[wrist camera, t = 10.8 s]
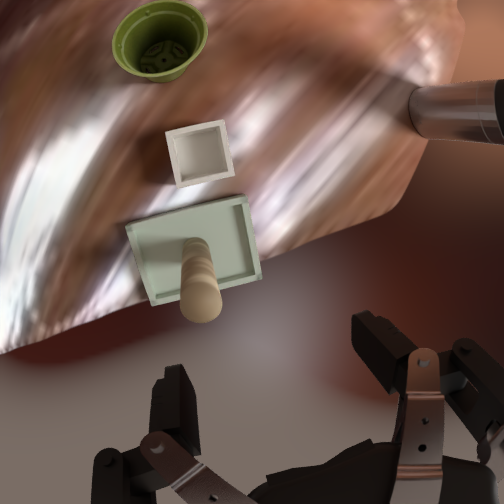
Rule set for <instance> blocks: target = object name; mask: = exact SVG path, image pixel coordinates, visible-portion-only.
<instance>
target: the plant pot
mask: <svg viewBox="0 0 504 504" xmlns="http://www.w3.org/2000/svg"><path fill="white" fill-rule="evenodd" d="M207 35H208V26H207V22H206V20H205V18H204V16H203V15H202V13H201V12H200V11H199V10H198V9H196V8H195V7H194V6H192V5H190V4H188V3H185V2H182V1H178V0H158V1H153V2H150V3H147V4H144V5H142V6H140V7H138V8H136V9H135V10H133V11H132V12H131V13H129V14H128V15H127V16H126V17H125V18H124V19H123V20H122V21H121V23H120V24H119V25H118V27H117V28H116V31H115V33H114V35H113V39H112V53H113V56H114V58H115V60H116V62H117V63H118V64H119V66H120V67H122V68H123V69H124V70H125V71H127V72H129V73H131V74H133V75H136V76H140V77H146V78H147V79H149V80H150V81H153V82H159V83H165V82H170V81H172V80H175V79H176V78H178V77H179V76H181V75H182V74H183V73H184V71H185V70H186V68H187V67H188V64H190V63H191V62H192V61H193V60H194V59H195V58H196V57H197V56H198V55H199V53H200V52H201V51H202V49H203V47H204V45H205V43H206V40H207ZM155 47H159V48H158V49H156V50H154V51H153V52H151V53H150V51H151V50H152V49H153V48H155ZM176 47H179V48H180V49H181V50H182V51H183V54H181V53H180V52H179V50H178V49H176ZM162 59H166V61H165V62H163V61H162ZM146 68H148V70H149V71H150V72H151V73H152V74H149V73H147V72H146Z"/></svg>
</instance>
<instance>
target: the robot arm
mask: <svg viewBox="0 0 504 504" xmlns="http://www.w3.org/2000/svg"><path fill="white" fill-rule="evenodd" d="M409 112H410V116H411V120H412V122H413V125H414V126H415V128H416V130H417V131H418V132H419V133H420V134H421V135H422V136H423V137H425V138H427V139H441V140H456V141H469V142H480V143H489V144H498V145H504V79H501V80H483V81H470V82H460V83H451V84H443V85H436V86H429V87H423V88H418V89H416V90H414V91H413V93H412V94H411V96H410V100H409ZM351 321H352V322H351V324H352V326H351V341H352V345H353V348H354V350H355V351H356V353H357V354H358V355H359V357H360V358H361V359H362V360H363V361H364V363H365V364H366V365H367V367H368V368H369V369H370V371H371V372H372V373H373V375H374V376H375V377H376V378H377V380H378V381H379V382H380V384H381V385H382V386H383V388H384V389H385V390H386V391H387V393H388V394H389V395H391V394H393V393H394V392H396V391H397V392H398V393H399V394H400V396H399V401H398V409H397V416H396V422H395V428H394V433H393V437H392V440H391V442H380V443H374V444H373V443H372V441H371V439H367V440H365V441H363V442H361V443H359V444H356V445H354V446H352V447H349V448H347V449H345V450H344V451H342V452H341V453H339V454H338V455H337V456H335V457H334V458H332V459H331V460H329V461H327V462H326V463H324V464H322V465H317V466H308V467H299V468H291V469H288V470H285V471H281V472H277V473H274V474H270V475H266V478H267V482H265V483H263V484H261V485H260V486H258V487H257V488H255V489H254V490H253V491H251V493H250V494H248V495H247V496H246V495H245V494H243V493H242V492H240V491H239V490H237V489H236V488H234V487H233V486H232V485H230V484H229V483H228V482H226V481H225V480H224V479H222V478H221V477H220V476H218V475H217V474H216V473H214V472H213V471H212V470H211V469H209V468H208V467H207V466H205V465H204V464H201V463H200V462H198V461H197V460H196V459H195V458H194V456H198V455H201V448H200V439H199V427H198V415H197V402H196V394H195V390H194V388H193V385H192V383H191V381H190V379H189V377H188V375H187V373H186V371H185V369H184V367H183V365H182V364H177V365H172V366H167V367H165V375H164V378H163V379H158V380H157V381H156V383H155V385H154V387H153V388H152V399H151V409H150V422H149V434H147V435H146V436H145V437H144V438H143V439H142V441H141V443H140V446H138V447H137V448H134V449H131V450H129V451H126V452H123V453H120V452H119V451H118V450H117V449H114V448H106V449H103V450H101V451H100V452H99V453H98V454H97V455H96V456H95V459H94V465H93V476H92V491H91V504H157V503H156V490H158V489H161V488H164V487H167V486H169V485H170V486H171V487H172V489H173V490H174V491H175V492H176V493H177V494H178V495H179V496H180V497H181V498H182V499H183V500H184V501H186V502H187V503H188V504H499V499H498V487H497V483H499V482H500V480H502V479H503V478H504V368H503V367H502V366H500V364H499V363H498V362H497V361H496V360H494V359H493V358H492V357H491V356H490V355H489V354H488V353H487V352H486V351H485V350H484V349H483V348H482V347H481V346H479V345H478V344H477V343H476V342H475V341H474V340H472V339H469V338H461V339H458V340H456V341H455V342H454V344H453V346H452V350H448V351H445V352H441V353H435V352H434V351H432V350H430V349H426V348H420V349H419V348H418V347H417V346H416V345H415V344H413V342H412V341H411V340H410V339H408V338H407V337H406V336H405V335H404V334H403V333H402V332H400V330H399V329H398V328H397V327H395V325H394V324H392V323H391V322H390V321H389V320H388V319H385V318H383V317H381V316H377V317H375V316H374V315H373V314H372V313H371V312H370V311H368V310H364V311H362V312H359V313H356V314H354V315H352V319H351ZM467 380H469V381H470V382H471V383H472V384H473V385H474V387H475V388H476V389H477V390H478V392H477V391H476V390H475V388H474V387H473V386H472V385H471V384H470V383H469V382H468V381H467ZM445 401H446V402H447V403H448V404H449V406H450V407H451V408H452V409H453V411H454V412H455V413H456V415H457V416H458V417H459V418H460V420H461V421H462V422H463V424H464V425H465V426H466V428H467V429H468V430H469V432H470V433H471V434H472V436H473V437H474V438H475V440H476V441H477V443H478V444H477V454H478V455H477V459H478V460H479V461H480V463H479V462H474V461H468V460H463V459H458V458H453V457H449V456H444V455H442V454H443V441H444V420H445V419H444V418H445Z"/></svg>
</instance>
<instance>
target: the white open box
mask: <svg viewBox="0 0 504 504" xmlns="http://www.w3.org/2000/svg"><path fill="white" fill-rule="evenodd" d="M165 134H166V139H167V144H168V149H169V154H170V159H171V163H172V168H173V173H174V177H175V182H176V186H177V189H179V188H183V187H187V186H191V185H196V184H200V183H204V182H208V181H213V180H217V179H222V178H226V177H231V176H235V173H234V168H233V163H232V158H231V153H230V148H229V142H228V137H227V132H226V127H225V122H224V119H223V120H217V121H212V122H207V123H202V124H197V125H193V126H188V127H184V128H179V129H175V130H171V131H167V132H165Z"/></svg>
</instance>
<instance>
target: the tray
mask: <svg viewBox="0 0 504 504" xmlns="http://www.w3.org/2000/svg"><path fill="white" fill-rule="evenodd" d="M125 228H126V231H127V235H128V238H129V241H130V245H131V248H132V251H133V254H134V257H135V260H136V263H137V266H138V269H139V272H140V275H141V278H142V281H143V283H144V286H145V289H146V292H147V294H148V297H149V300H150V302H151V305H152V306H155V305H159V304H164V303H168V302H172V301H176V300H180V286H181V265H182V248H183V245H184V243H185V242H186V241H187V240H188V239H190V238H193V237H199V238H202V239H204V240H205V241H206V242H207V244H208V246H209V250H210V254H211V258H212V262H213V267H214V271H215V275H216V279H217V283H218V287H219V290H220V289H224V288H228V287H233V286H236V285H240V284H244V283H248V282H251V281H256V280H259V279H262V273H261V268H260V262H259V256H258V251H257V246H256V240H255V235H254V230H253V224H252V219H251V214H250V208H249V203H248V198H247V195H245V194H240V195H236V196H231V197H227V198H222V199H218V200H214V201H209V202H205V203H201V204H197V205H193V206H189V207H185V208H181V209H177V210H173V211H169V212H165V213H161V214H158V215H154V216H150V217H147V218H143V219H139V220H136V221H132V222H129V223H128V224H127V225H126V226H125Z"/></svg>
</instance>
